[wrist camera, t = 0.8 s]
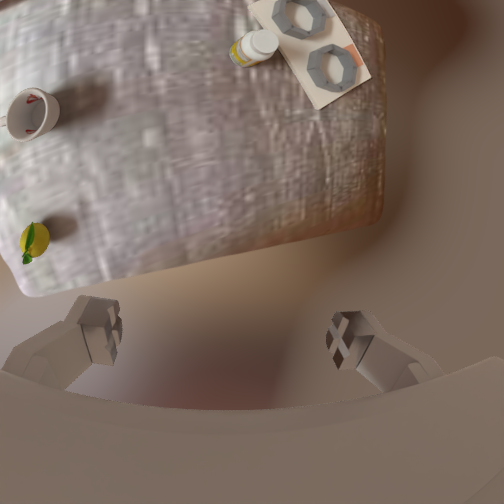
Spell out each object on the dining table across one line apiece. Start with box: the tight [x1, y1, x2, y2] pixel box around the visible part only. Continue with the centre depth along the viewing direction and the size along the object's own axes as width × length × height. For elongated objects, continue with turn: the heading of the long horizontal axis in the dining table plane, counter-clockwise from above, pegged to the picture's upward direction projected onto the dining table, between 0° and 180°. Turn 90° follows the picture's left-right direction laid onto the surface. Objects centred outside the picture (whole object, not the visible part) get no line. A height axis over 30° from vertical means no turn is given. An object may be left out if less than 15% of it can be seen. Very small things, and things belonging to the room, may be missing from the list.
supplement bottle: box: [230, 29, 279, 67], centre depth 34 cm, size 5×5×10 cm
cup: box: [0, 88, 60, 142], centre depth 27 cm, size 11×8×8 cm
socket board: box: [247, 0, 371, 110], centre depth 38 cm, size 24×16×4 cm, turn 34°
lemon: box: [20, 222, 50, 264], centre depth 35 cm, size 7×6×10 cm
